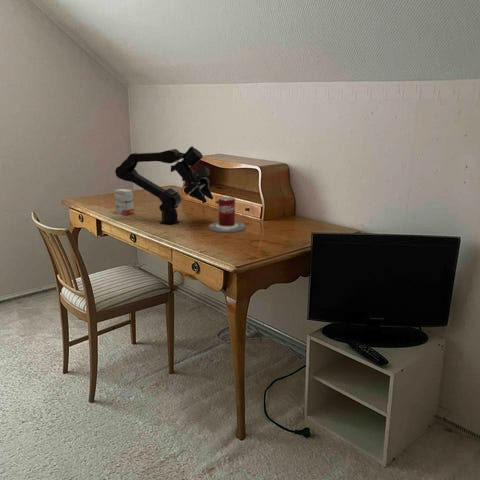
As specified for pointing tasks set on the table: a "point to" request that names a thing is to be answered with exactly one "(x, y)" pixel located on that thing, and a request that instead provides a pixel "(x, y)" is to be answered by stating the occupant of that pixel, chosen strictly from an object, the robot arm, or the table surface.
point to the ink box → (124, 201)
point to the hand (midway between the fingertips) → (209, 200)
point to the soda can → (226, 211)
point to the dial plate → (227, 228)
